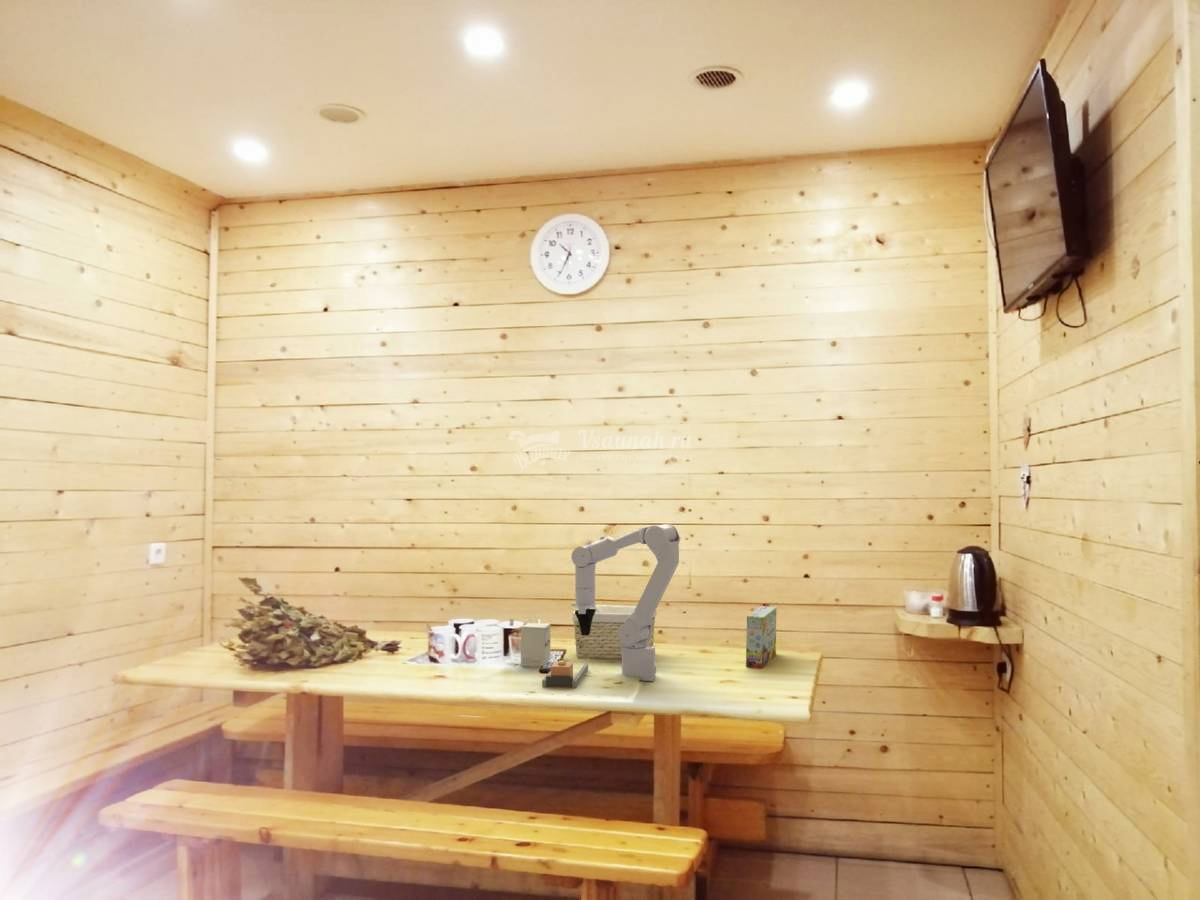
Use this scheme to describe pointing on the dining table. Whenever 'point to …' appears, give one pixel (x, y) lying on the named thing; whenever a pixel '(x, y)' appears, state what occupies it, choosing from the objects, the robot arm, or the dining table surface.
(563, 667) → the block
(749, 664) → the snack box
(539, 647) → the supplement box
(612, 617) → the storage basket
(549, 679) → the grey tray
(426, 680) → the dining table surface
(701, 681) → the dining table surface
